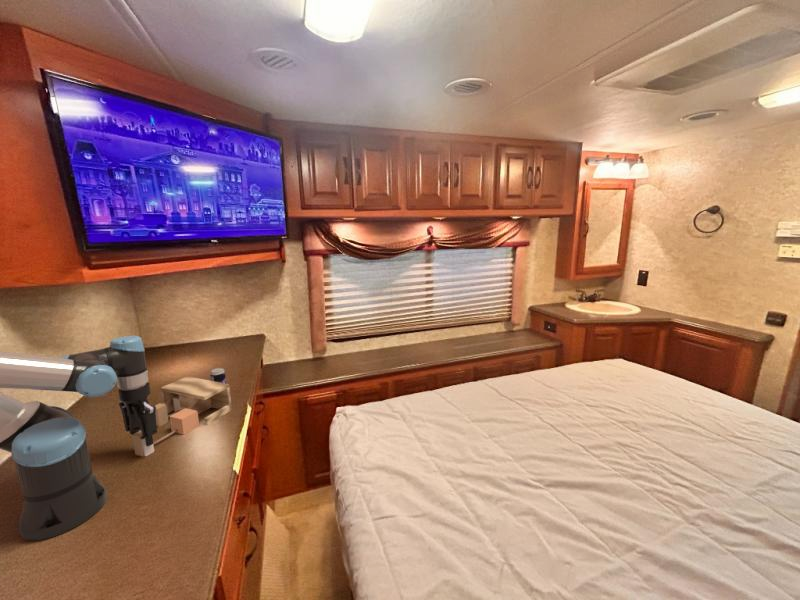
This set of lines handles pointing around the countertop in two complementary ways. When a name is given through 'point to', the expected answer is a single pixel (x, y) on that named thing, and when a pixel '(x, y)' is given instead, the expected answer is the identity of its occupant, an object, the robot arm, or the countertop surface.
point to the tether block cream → (165, 411)
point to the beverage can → (218, 375)
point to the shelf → (198, 396)
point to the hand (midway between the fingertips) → (144, 452)
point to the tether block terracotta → (179, 424)
